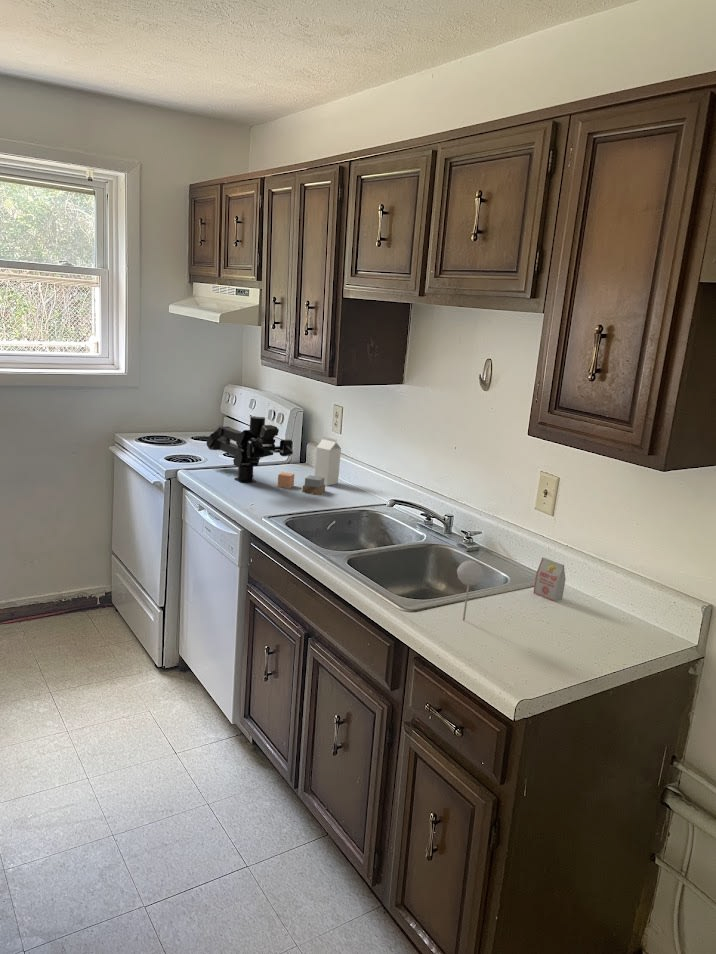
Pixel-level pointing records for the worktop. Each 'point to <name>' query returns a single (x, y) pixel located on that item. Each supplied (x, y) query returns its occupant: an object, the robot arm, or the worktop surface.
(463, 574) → the lollipop
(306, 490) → the tower bottom
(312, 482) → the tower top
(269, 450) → the robot arm
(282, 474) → the terracotta cube
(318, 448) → the milk carton
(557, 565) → the white printed box
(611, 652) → the worktop surface
